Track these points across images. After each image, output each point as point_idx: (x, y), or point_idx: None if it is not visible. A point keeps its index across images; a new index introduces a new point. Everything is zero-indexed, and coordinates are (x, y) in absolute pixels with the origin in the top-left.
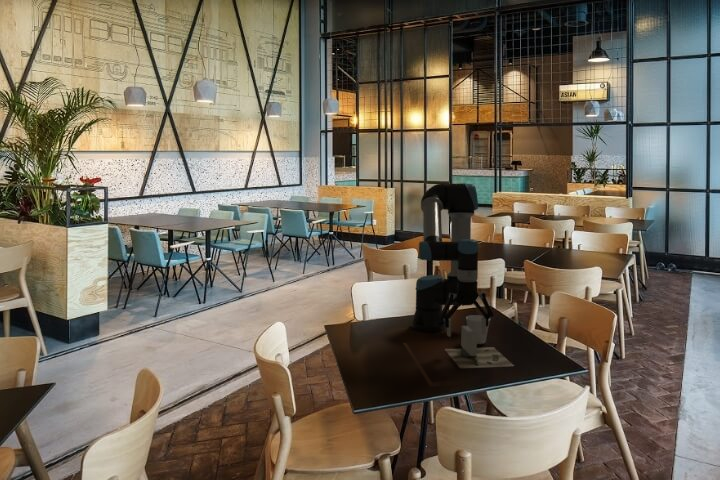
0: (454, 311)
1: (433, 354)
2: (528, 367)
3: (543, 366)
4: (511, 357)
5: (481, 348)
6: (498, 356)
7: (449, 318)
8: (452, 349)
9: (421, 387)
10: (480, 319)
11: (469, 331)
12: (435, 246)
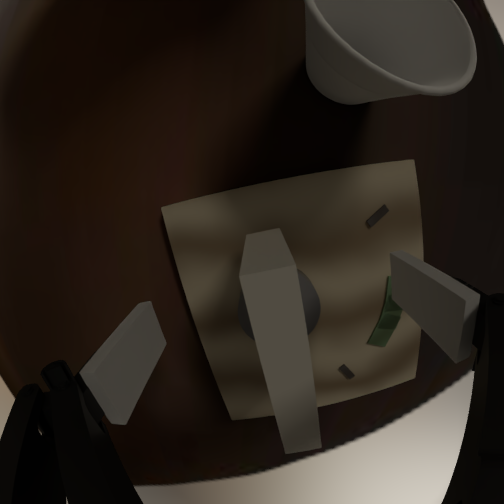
0: (127, 487)
1: (122, 246)
2: None
3: None
4: (447, 256)
5: (358, 180)
6: None
7: (100, 385)
8: (202, 208)
9: (148, 466)
10: None
11: (287, 412)
12: None
